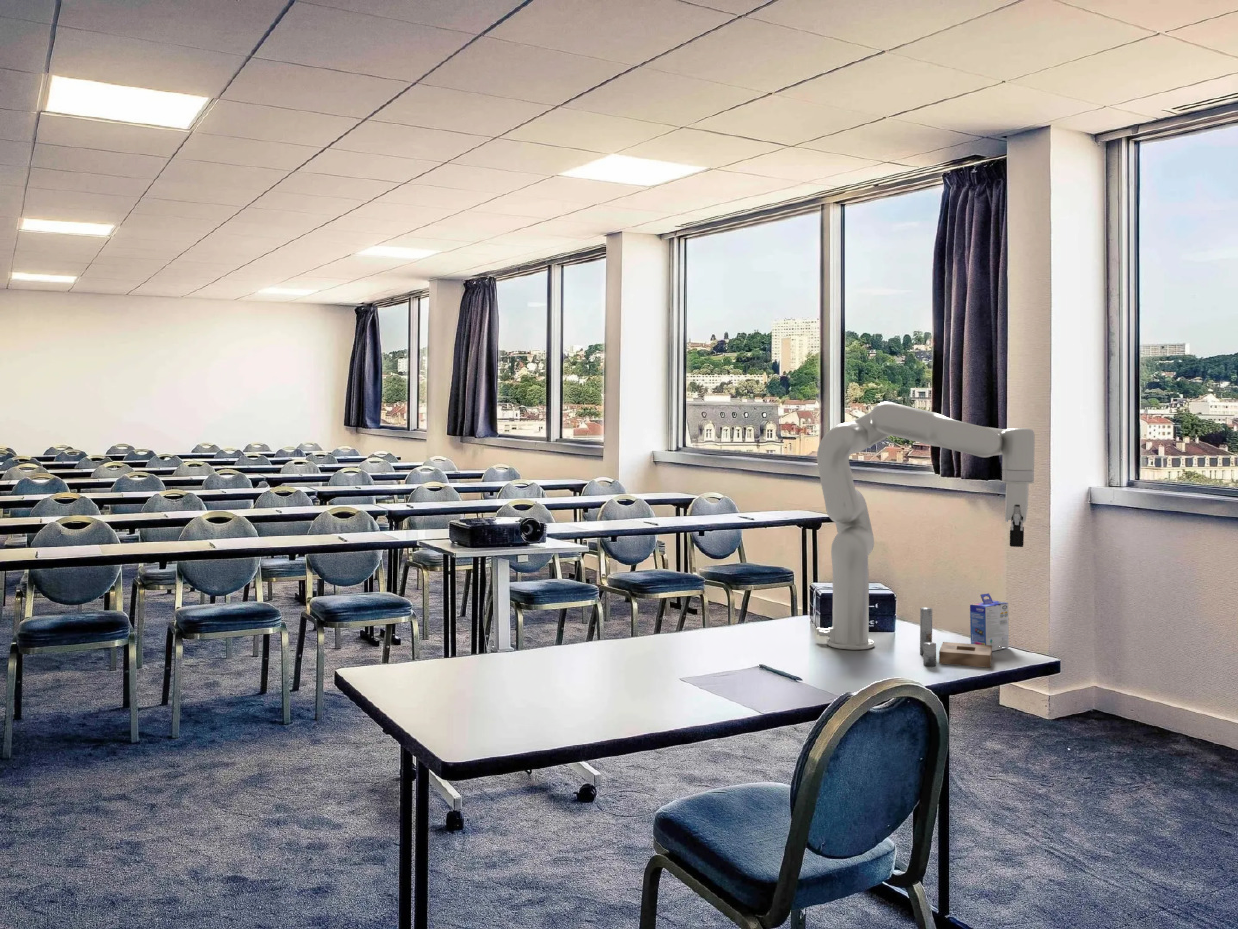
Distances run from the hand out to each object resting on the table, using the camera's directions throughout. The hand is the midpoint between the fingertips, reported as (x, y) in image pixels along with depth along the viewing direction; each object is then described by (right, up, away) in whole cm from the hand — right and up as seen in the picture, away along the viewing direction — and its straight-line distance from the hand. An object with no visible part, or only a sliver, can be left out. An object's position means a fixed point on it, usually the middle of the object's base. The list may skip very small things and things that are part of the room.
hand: (1016, 544), depth 262 cm
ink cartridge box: (-2, -29, +13) cm, 32 cm away
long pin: (-21, -29, +6) cm, 36 cm away
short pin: (-24, -30, -6) cm, 38 cm away
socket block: (-13, -29, 0) cm, 32 cm away
